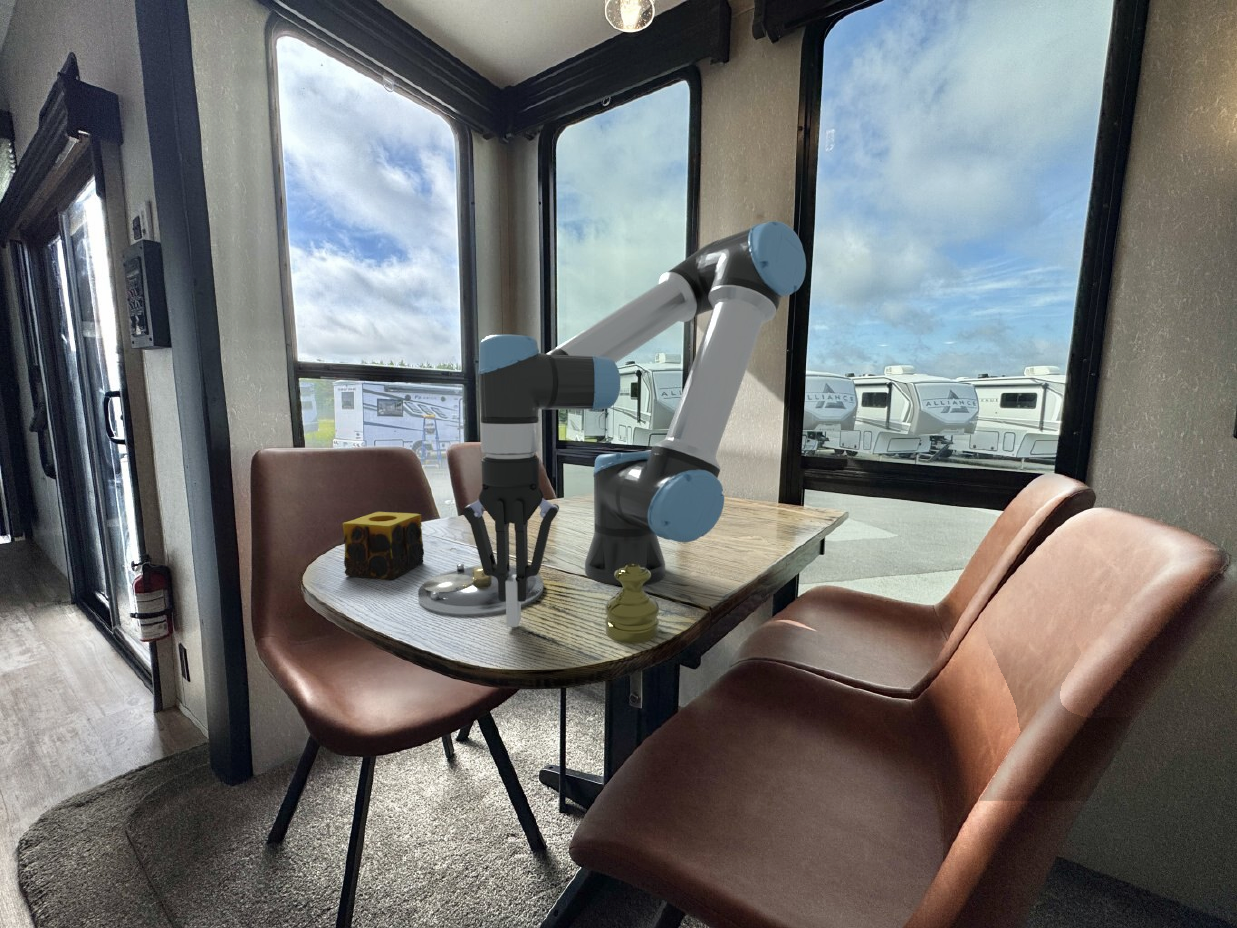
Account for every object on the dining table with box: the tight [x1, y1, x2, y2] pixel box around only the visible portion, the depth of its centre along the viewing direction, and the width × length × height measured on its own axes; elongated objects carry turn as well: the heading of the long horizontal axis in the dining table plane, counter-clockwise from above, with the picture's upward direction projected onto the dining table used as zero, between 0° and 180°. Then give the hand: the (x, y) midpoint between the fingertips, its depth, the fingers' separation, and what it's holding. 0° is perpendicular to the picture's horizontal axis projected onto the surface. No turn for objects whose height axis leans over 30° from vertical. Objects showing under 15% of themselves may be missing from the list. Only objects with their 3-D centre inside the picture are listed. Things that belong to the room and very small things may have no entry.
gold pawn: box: [604, 563, 660, 644], centre depth 69 cm, size 7×7×10 cm
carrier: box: [417, 563, 544, 617], centre depth 84 cm, size 20×20×4 cm
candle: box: [342, 511, 425, 581], centre depth 95 cm, size 10×10×10 cm
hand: (513, 622), depth 71 cm, fingers closed
